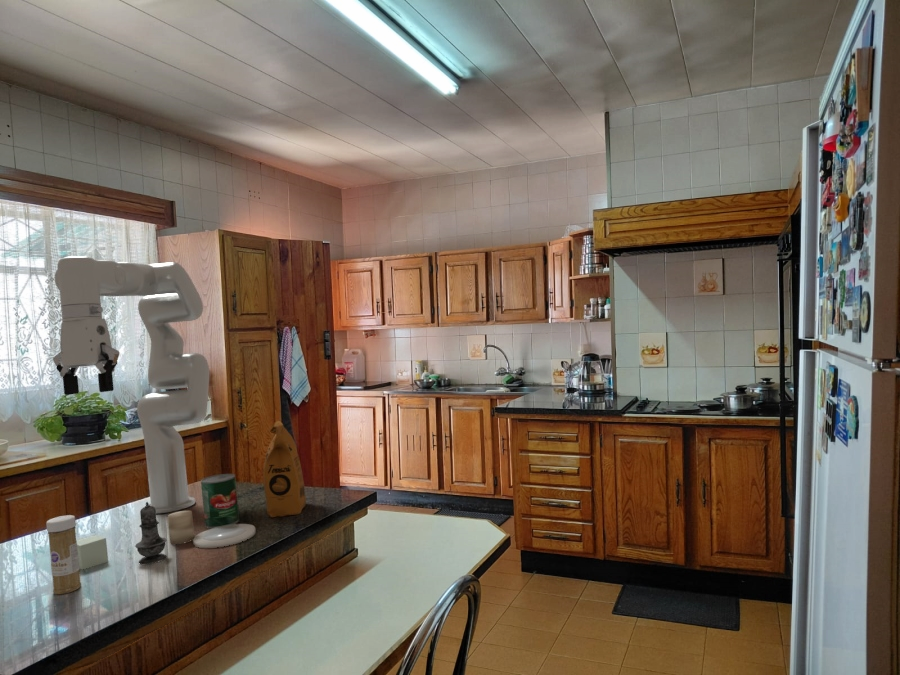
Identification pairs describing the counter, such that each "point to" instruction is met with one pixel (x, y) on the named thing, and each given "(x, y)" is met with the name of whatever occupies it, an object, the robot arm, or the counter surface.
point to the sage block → (92, 551)
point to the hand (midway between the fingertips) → (89, 392)
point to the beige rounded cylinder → (180, 527)
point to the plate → (224, 536)
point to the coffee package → (283, 475)
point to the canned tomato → (219, 500)
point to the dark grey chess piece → (150, 537)
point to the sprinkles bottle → (63, 554)
